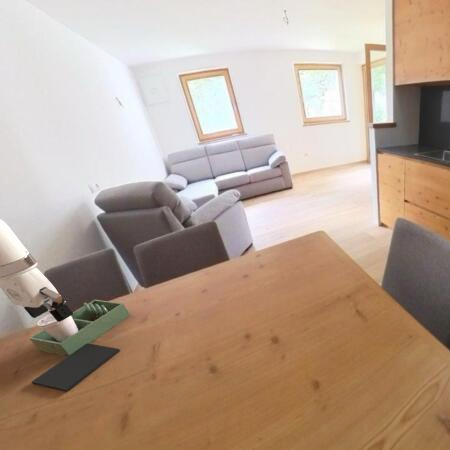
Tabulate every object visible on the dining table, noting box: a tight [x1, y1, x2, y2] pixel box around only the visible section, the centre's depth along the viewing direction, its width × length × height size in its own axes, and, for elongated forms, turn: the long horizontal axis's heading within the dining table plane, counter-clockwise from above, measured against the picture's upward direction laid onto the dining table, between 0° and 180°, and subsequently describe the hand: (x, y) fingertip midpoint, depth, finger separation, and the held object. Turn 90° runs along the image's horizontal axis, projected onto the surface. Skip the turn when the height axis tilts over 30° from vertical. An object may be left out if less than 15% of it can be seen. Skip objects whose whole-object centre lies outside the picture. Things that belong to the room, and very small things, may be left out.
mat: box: [31, 343, 121, 393], centre depth 74 cm, size 12×12×1 cm
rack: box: [28, 299, 131, 357], centre depth 84 cm, size 12×16×7 cm
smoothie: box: [36, 309, 79, 343], centre depth 79 cm, size 6×6×14 cm
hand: (53, 316), depth 78 cm, fingers open, 9 cm apart
